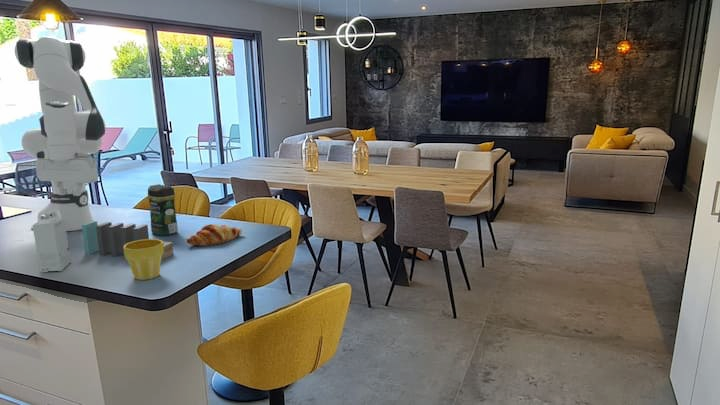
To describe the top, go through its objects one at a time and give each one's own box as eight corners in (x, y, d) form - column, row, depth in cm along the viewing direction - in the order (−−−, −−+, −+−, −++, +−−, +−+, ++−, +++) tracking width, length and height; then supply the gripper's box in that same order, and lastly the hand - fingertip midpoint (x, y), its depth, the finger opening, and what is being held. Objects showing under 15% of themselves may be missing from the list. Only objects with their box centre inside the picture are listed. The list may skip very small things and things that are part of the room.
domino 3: (111, 256, 152) (108, 226, 150) (122, 251, 157) (119, 222, 155) (116, 256, 152) (112, 227, 150) (126, 251, 157) (123, 223, 155)
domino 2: (99, 255, 153) (95, 225, 151) (110, 250, 158) (107, 222, 156) (103, 255, 153) (100, 226, 151) (114, 250, 158) (111, 222, 155)
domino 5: (136, 258, 150) (133, 228, 148) (146, 253, 155) (143, 224, 153) (140, 258, 150) (137, 228, 148) (150, 253, 155) (147, 224, 153)
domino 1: (85, 254, 154) (81, 224, 152) (96, 249, 159) (92, 221, 157) (89, 254, 154) (85, 225, 152) (100, 249, 159) (97, 221, 156)
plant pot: (135, 269, 141) (132, 238, 139) (171, 269, 141) (168, 238, 139) (120, 283, 131) (116, 249, 129) (158, 282, 131) (155, 249, 129)
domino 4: (123, 257, 151) (120, 227, 149) (134, 252, 156) (131, 223, 154) (128, 257, 151) (124, 227, 149) (138, 252, 156) (135, 223, 154)
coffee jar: (147, 233, 178) (143, 185, 174) (166, 228, 184) (162, 182, 180) (162, 237, 172) (157, 188, 168) (181, 232, 179) (177, 185, 175)
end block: (147, 261, 148) (145, 249, 147) (162, 253, 156) (161, 241, 155) (158, 262, 147) (157, 249, 146) (173, 253, 155) (172, 242, 154)
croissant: (238, 242, 179) (232, 223, 180) (250, 235, 172) (244, 215, 173) (184, 254, 164) (178, 232, 165) (195, 247, 157) (189, 224, 158)
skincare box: (61, 271, 139) (54, 223, 136) (38, 273, 137) (31, 224, 134) (71, 262, 147) (65, 216, 144) (50, 263, 145) (43, 217, 142)
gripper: (100, 152, 151) (104, 194, 154) (46, 151, 155) (52, 191, 158) (85, 155, 145) (90, 198, 148) (29, 153, 149) (35, 195, 152)
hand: (70, 195), depth 153 cm, fingers open, 4 cm apart
